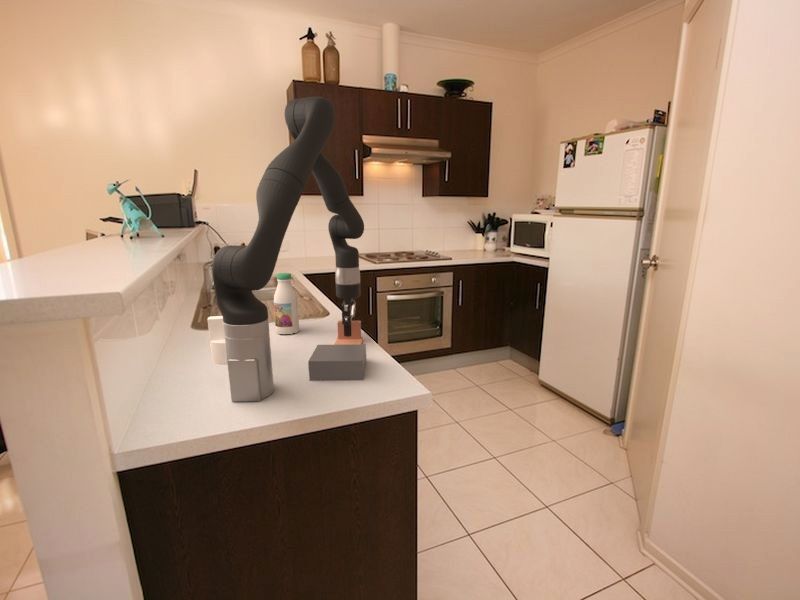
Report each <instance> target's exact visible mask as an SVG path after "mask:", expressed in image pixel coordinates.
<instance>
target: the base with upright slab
mask: <svg viewBox="0 0 800 600" xmlns="http://www.w3.org/2000/svg"><path fill="white" fill-rule="evenodd" d="M207 325H208V326H207V327H208V328H207V329H208V334H209V335H208V336H209V345H210V351H211V352H210V354H211V360H212V363H214V364H216V365H228V362H227V353H226V343H225V333H224V323H223V316H222V315H215V316H214V315H213V316H208V317H207Z"/></svg>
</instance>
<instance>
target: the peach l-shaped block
mask: <svg viewBox="0 0 800 600" xmlns="http://www.w3.org/2000/svg"><path fill="white" fill-rule="evenodd" d="M351 331H352V335H351V336H350V337H345V336H344V325H343V324H342V320H338V321H337V337H336V339H335V342H334V344H333V345H352V344H362V343H363V338H364V337H363V336H362V320H354V321H352V323H351Z"/></svg>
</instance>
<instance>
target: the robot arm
mask: <svg viewBox="0 0 800 600" xmlns="http://www.w3.org/2000/svg"><path fill="white" fill-rule="evenodd" d="M284 120H285V124H286V126H287V130H288V131H289V133H290V135H291V138H292V139H293V142H291V143H290V144H289V145H288V146H287V147H285V148H284V149H283V150H282V151H281V152H280V153H279V154H277V155H276V156H275V158H273V160H271V161H270V162H269V164H268V165H267V166H266V168H265V171H264V173H263V175H262V176H261V179H260V181H259V183H258V186H257V189H256V192H255V193H256V194H255V195H256V206H257V213H258V221H257V226H256V228H255V231H254V233H253V236H252V238H251V240H249V243H248V244H247V245H224V246H223V247H221V248H219V249H218V250H217V251H216V253H215V255H214V256H213V260H212V266H211V267H212V270H211V272H212V273H211V274H212V279H213V287H214V292H215V293H214V294H215V299H216V305H217V308H218V310H219V312H220V314H221V316H223V323H224V333H225V343H226V353H227V362H228V364H227V371H228V379H229V390H230V399H231V402H261V401H262V400H263V399H264V398H267V397H268V396H270V395H271V394H272V393H274V390H275V388H274V387H275V386H274V385H275V384H274V374H273V362H272V360H273V359H272V350H271V349H272V348H271V337H270V322H269V321H270V320H269V310H268V306H267V305H266V304H265V303H263V302H262V301H261V300H259V299H258V298H257V296H255V294H254V292H253V291H260V290H262V289H263V288H265V287H266V286H267V284H268V283H269V282H270V280H271V278H272V276H273V273H274V271H275V267H276V265H277V261H278V258H279V254H280V251H281V248H282V245H283V241H284V238H285V236H286V232H287V230H288V228H289V225H290V222H291V221H292V218H293V215H294V214H295V211H296V208H297V206H298V204H299V202H300V199H301V197H302V195H303V192H304V189H305V187H306V184H307V182H308V180H309V177H310V175H311V174H312V175H313V177H314V179H315V182H316V183H317V186H318V188H319V190H320V194H321V196H322V199H323V201H324V203H325V206H326V209H327V210H328V212H330V213H332V214H334V215H333V216H332V217H331V218H330V219H329V221H328V226H327V227H328V233H329V234H328V235H329V237H330V240H331V244H332V247H333V250H334V254H335V255H334V256H335V272H334V273H335V274H334V279H335V296H336V297H337V298H339V299H342V300H343V301H342V303H341V321H342V324H343V325H344V336H345V337H350V336H351V335H352V331H351V323H352V321H355V316H356V306H357V305H356V301H355V300H356V299H357V298H359V297H361V293H362V292H361V271H360V255H359V254H360V253H359V249H358V248H357V247H355V246H352V245H350V244H349V243H348V242H347V240H348V239H349V240H357V239H359V238H361V237H362V236H363V234H364V232H365V223H364V220H363V218H362V216H361V214H360V213H359V211H358V209H357V207H356V206H355V205H354V203H353V202H352V200H351V199H350V196H349V192H348V190H347V186H346V184H345V181H344V178H343V177H342V175H341V174H340V172H339V171H338V170H337V169H336V167H335V166H334V165H333V164H332V163H331V162H330V161H329V159H327V157H326V156H325V155H324V153H323V151H322V150H323V149H324V147H325V146H326V144H327V143H328V141H329V139H330V137H331V135H332V133H333V130H334V128H335V123H336V112H335V107H334V105H333V103H332V102H331V101H330V100H329V99H328V98H326V97H325V96H324V97H323V96H309V97H302V98H294V99H291V100H289V101H288V102H287V103H286V105H285V107H284Z"/></svg>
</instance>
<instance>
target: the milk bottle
mask: <svg viewBox="0 0 800 600" xmlns="http://www.w3.org/2000/svg"><path fill="white" fill-rule="evenodd" d="M276 281H277V286H276V289H275V292H274V294H273V311H274V312H273V314H274V326H275V333H276V334H277V333H278V334H277V335H279V334H291V335H294V334H293V333H295V334H297V333H299V332H300V321H299V320H300V317H299V304H298V303H299V302H298V296H297V294H296V291H295V290H294V286H293V284H292V274H291V273H290V272H280V273H276ZM298 331H299V332H298Z"/></svg>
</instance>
